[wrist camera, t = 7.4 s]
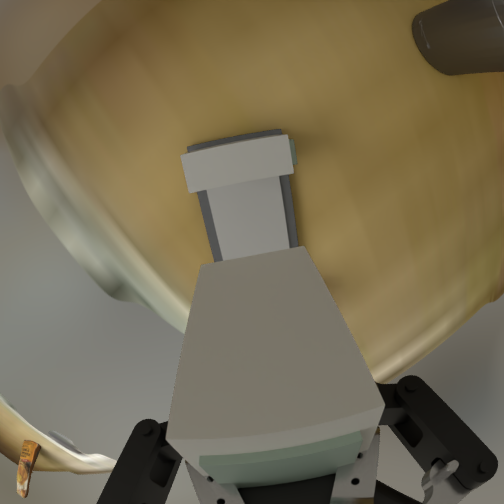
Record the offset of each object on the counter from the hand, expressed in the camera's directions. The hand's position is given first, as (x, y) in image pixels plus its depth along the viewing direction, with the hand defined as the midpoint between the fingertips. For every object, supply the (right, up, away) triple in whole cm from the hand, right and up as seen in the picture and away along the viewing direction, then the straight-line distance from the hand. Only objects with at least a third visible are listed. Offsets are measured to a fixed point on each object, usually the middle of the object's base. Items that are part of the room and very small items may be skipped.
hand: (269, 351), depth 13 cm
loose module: (0, +1, +2) cm, 2 cm away
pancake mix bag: (-89, -73, +47) cm, 125 cm away
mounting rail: (-1, +7, +16) cm, 18 cm away
